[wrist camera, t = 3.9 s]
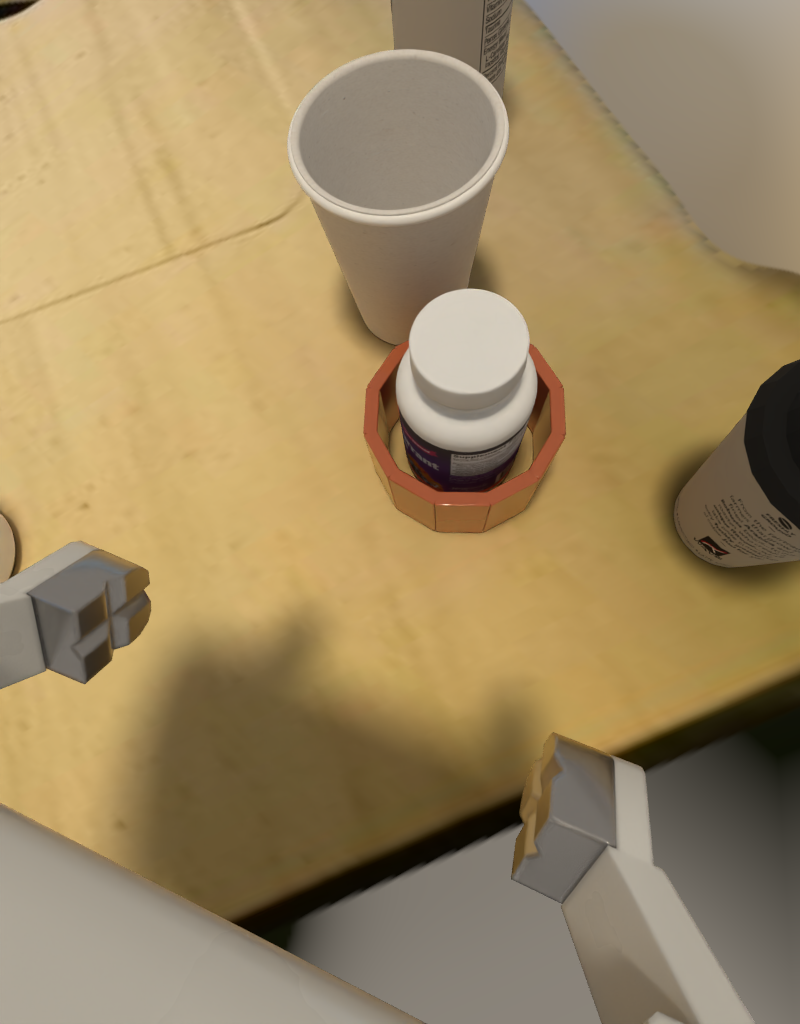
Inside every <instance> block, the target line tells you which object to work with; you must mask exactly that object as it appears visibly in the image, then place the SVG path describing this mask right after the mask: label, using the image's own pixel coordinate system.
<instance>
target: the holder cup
mask: <svg viewBox="0 0 800 1024" xmlns="http://www.w3.org/2000/svg"><path fill="white" fill-rule="evenodd" d="M408 348H409V340H408V341H406V342H404V343H402V344H400V345H398V346H396V347H395V349H393V350H392V351H391V353H390V354H389V356H388V357H387V358H386V360H385V361H384V363H383V364H382V366H381V367H380V368H379V370H378V371H377V373H376V374H375V376H374V377H373V378H372V380H371V381H370V383H369V384H368V386H367V387H368V388H367V389H366V400H365V415H364V431H363V433H364V438H365V441H366V444H367V446H368V449H369V452H370V455H371V458H372V461H373V464H374V467H375V470H376V473H377V474H378V476H379V478H380V480H381V482H382V484H383V485H384V487H385V489H386V491H387V493H388V494H389V496H390V498H391V500H392V502H393V504H394V505H395V507H396V508H397V509H398V510H400V511H401V512H403V513H405V514H407V515H408V516H410V517H412V518H413V519H415V520H417V521H418V522H420V523H422V524H423V525H425V526H427V527H429V528H430V529H432V530H434V531H435V530H436V531H437V532H472V533H482V531H483V532H485V531H487V530H489V529H491V528H493V527H494V526H496V525H498V524H500V523H502V522H504V521H506V520H508V519H509V518H511V517H513V516H515V515H517V514H519V513H521V512H522V511H523V510H524V509H525V508H526V506H527V504H528V503H529V501H530V499H531V498H532V496H533V494H534V493H535V491H536V489H537V488H538V486H539V484H540V483H541V481H542V479H543V478H544V476H545V474H546V472H547V470H548V469H549V467H550V465H551V463H552V461H553V459H554V457H555V456H556V454H557V452H558V450H559V448H560V446H561V444H562V443H563V441H564V439H565V435H566V426H565V405H564V389H563V388H562V387H563V385H562V384H561V382H560V381H559V379H558V378H557V377H556V375H555V374H554V372H553V371H552V369H551V368H550V367H549V365H548V364H547V362H546V361H545V359H544V358H543V357H542V355H541V354H540V352H539V351H538V350H537V348H536V347H534V345H532V344H530V345H529V354H530V356H531V358H532V360H533V362H534V365H535V369H536V373H537V395H536V399H535V404H534V407H533V410H532V413H531V416H530V418H529V421H528V424H527V425H528V427H529V428H530V430H531V431H532V433H533V461H534V462H533V463H532V465H531V467H530V468H529V470H528V471H526V472H524V473H522V474H520V475H518V476H517V477H515V478H513V479H511V480H509V481H507V482H505V483H503V484H501V485H500V486H498V487H496V488H494V489H492V490H490V491H488V492H438V491H436V490H435V489H433V488H431V487H429V486H428V485H426V484H424V483H422V482H421V481H419V480H417V479H415V478H414V477H412V476H410V475H408V474H406V473H405V472H403V471H401V470H399V469H398V467H397V465H396V463H395V462H394V460H393V458H392V456H391V455H390V453H389V451H388V448H389V432H390V430H391V429H392V428H393V426H394V425H395V423H396V422H397V420H398V419H399V417H400V416H399V411H398V404H397V400H396V377H397V372H398V368H399V365H400V363H401V360H402V358H403V356H404V354H405V353H406V351H407V349H408Z"/></svg>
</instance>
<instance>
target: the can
mask: <svg viewBox="0 0 800 1024" xmlns="http://www.w3.org/2000/svg"><path fill="white" fill-rule="evenodd" d="M15 554H16V551H15V542H14V537H13V533H12V530H11V528H10V526H9V524H8V522H7V521H6V519H5V518H4V517H3V516H2V515H1V514H0V583H3V582H5V581H7V580H8V579H10V576H11V574H12V571H13V567H14V563H15Z"/></svg>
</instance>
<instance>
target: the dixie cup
mask: <svg viewBox="0 0 800 1024" xmlns="http://www.w3.org/2000/svg"><path fill="white" fill-rule="evenodd" d="M508 139H509V122H508V116H507V112H506V109H505V106H504V103H503V101H502V99H501V97H500V95H499V94H498V92H497V91H496V89H495V88H494V87H493V85H492V84H491V83H490V82H489V81H488V80H487V79H486V78H485V77H484V76H483V75H482V74H480V73H479V72H478V71H477V70H475V69H474V68H472V67H471V66H469V65H467V64H466V63H464V62H462V61H460V60H458V59H455V58H453V57H450V56H448V55H444V54H441V53H437V52H432V51H426V50H416V49H399V50H389V51H383V52H378V53H373V54H370V55H366V56H363V57H360V58H358V59H355V60H353V61H350V62H348V63H346V64H344V65H342V66H341V67H339V68H337V69H335V70H334V71H332V72H331V73H329V74H328V75H327V76H325V77H324V78H323V79H322V80H321V81H319V82H318V83H317V84H316V85H315V86H314V87H313V88H312V89H311V90H310V92H309V93H308V94H307V95H306V96H305V98H304V99H303V100H302V102H301V103H300V105H299V107H298V108H297V110H296V112H295V114H294V116H293V119H292V122H291V125H290V128H289V133H288V141H287V150H288V158H289V163H290V166H291V169H292V172H293V174H294V176H295V178H296V180H297V182H298V184H299V185H300V187H301V188H302V189H303V191H304V192H305V193H306V194H307V195H308V196H309V197H310V199H311V202H312V204H313V206H314V208H315V211H316V213H317V215H318V217H319V220H320V222H321V224H322V227H323V229H324V231H325V233H326V236H327V238H328V240H329V243H330V245H331V247H332V249H333V252H334V254H335V256H336V259H337V261H338V263H339V265H340V268H341V270H342V272H343V274H344V277H345V279H346V281H347V284H348V286H349V288H350V290H351V293H352V295H353V297H354V300H355V302H356V304H357V306H358V309H359V311H360V313H361V316H362V318H363V320H364V322H365V324H366V326H367V327H368V328H369V330H370V331H371V332H372V333H373V334H374V335H376V336H377V337H378V338H380V339H382V340H383V341H385V342H388V343H390V344H394V345H400V344H402V343H404V342H406V341H408V340H409V336H410V331H411V328H412V325H413V323H414V321H415V319H416V317H417V315H418V314H419V313H420V311H421V310H422V309H423V308H424V307H425V306H426V305H427V304H428V303H429V302H431V301H432V300H433V299H435V298H437V297H439V296H440V295H442V294H445V293H448V292H451V291H455V290H459V289H467V288H468V284H469V278H470V273H471V269H472V265H473V261H474V257H475V253H476V249H477V245H478V241H479V237H480V232H481V228H482V224H483V220H484V216H485V212H486V208H487V204H488V200H489V196H490V192H491V188H492V184H493V180H494V176H495V174H496V172H497V171H498V169H499V167H500V165H501V163H502V161H503V158H504V156H505V153H506V149H507V145H508Z"/></svg>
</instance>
